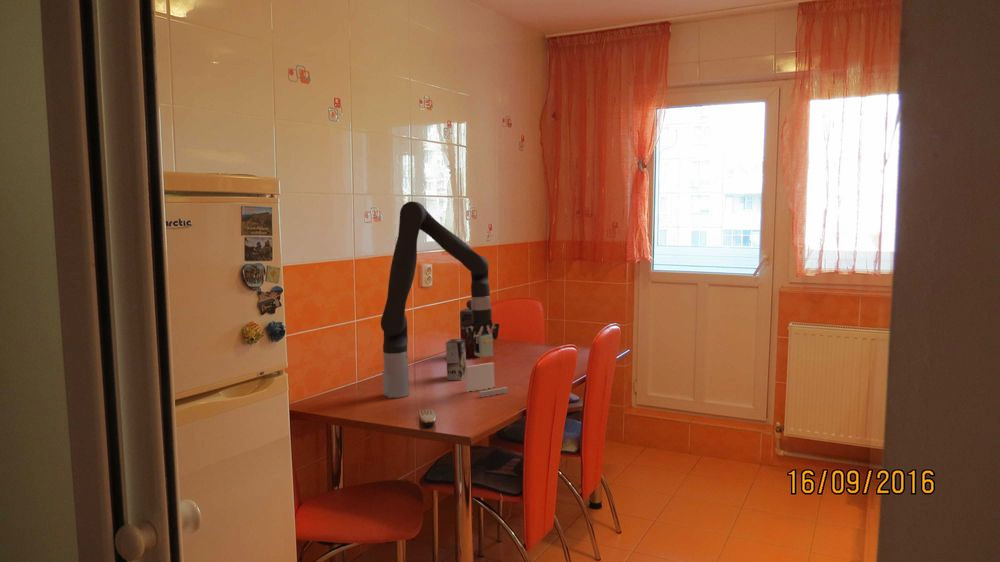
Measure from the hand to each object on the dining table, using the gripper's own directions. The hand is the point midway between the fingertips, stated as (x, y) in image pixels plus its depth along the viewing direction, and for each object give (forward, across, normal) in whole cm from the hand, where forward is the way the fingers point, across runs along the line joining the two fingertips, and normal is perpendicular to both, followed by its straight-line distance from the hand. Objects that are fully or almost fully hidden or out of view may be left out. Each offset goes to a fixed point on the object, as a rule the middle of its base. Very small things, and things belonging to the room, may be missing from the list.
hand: (483, 351), depth 269 cm
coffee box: (+16, +2, +30) cm, 34 cm away
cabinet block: (+1, 0, 0) cm, 1 cm away
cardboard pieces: (+16, 0, 0) cm, 16 cm away
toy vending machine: (+16, +28, +65) cm, 73 cm away
